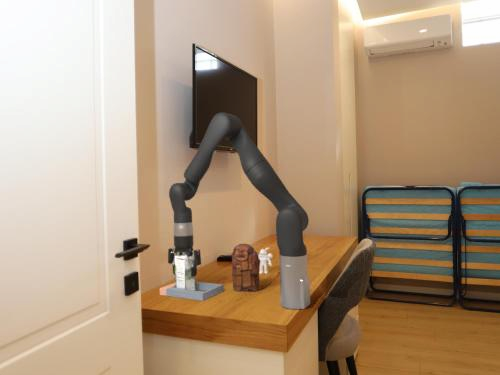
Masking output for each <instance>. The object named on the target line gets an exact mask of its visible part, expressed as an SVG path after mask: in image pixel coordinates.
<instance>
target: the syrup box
mask: <svg viewBox="0 0 500 375" xmlns="http://www.w3.org/2000/svg"><path fill="white" fill-rule="evenodd" d="M174 257H175V275H174V283H175V288H183V289H187V290H194V291H197V290H196V286H195V281H196V276H194V277H191V265H190V263H188V257H186V256H183V255H179V256H176V255H174ZM193 257H194V255H192V256H190V257H189V259H193Z"/></svg>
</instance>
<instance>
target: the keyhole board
mask: <svg viewBox="0 0 500 375" xmlns="http://www.w3.org/2000/svg"><path fill="white" fill-rule="evenodd" d="M195 286H196V291H194V290H187V289H183V288H175V282H173V283H170V284H167V285H165V286H162V287H160V288H159V295H160V296H168V297H173V298H180V299H187V300H193V301H194V300H195V301H201V302H202V301H203V302H204V301H205V300H208V299H210V298H212V297H214V296H216V295H218V294H221V293H222V292H224V284H222V283H214V282H213V283H212V282H202V281H198V280H197V281H196V280H195Z"/></svg>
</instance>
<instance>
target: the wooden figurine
mask: <svg viewBox="0 0 500 375" xmlns="http://www.w3.org/2000/svg"><path fill="white" fill-rule="evenodd" d="M258 255H259V252H257V251H256V250H255V249H254V247H253V246H252V245H250V244H249V243H239V244H237V245H236V246H234V247H233V251H232V253H231V266H232V268H231V272H232V275H231V276H232V289H233V290H234V291H236V292H258V291H259V289H260V274H259V272H260V260H259V257H258Z"/></svg>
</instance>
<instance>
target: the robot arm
mask: <svg viewBox="0 0 500 375" xmlns="http://www.w3.org/2000/svg"><path fill="white" fill-rule="evenodd" d="M223 140H227V141H228V142H229V143H230V144H231V145H232V147H233V148H234V149H235V152H236V153H237V155H238V158H239V161H240V167H241V169H242V171H243V173H244V175H245V176H246V177H247V179H248V181H250V183H251V185H252V186H253V187H254V189H256V190H257V191H258V192H259V193H260V194H262V195H263V197H265V198H266V199H268V201H269V202H271V203H272V205H273V206H274V207H275V209H276V210H277V212H278V213H277V215H276V218H275V219H276V220H275V233H276V244H277V248H278V251H279V252H278V254H279V281H280V283H279V285H280V289H279V290H280V307H281V308H285V309H289V310H299V309H301V310H305V309H306V308H307V307H308V306H310V305H311V288H310V287H311V286H310V285H311V283H310V281H311V280H310V276H309V275H308V252H307V251H308V250H307V245H305V242H304V235H303V232H304V231H305V230H307V228H308V225H309V216H308V213H307V212H306V210H305V209H304V207H303V206H301V204H300V203H299V202H298V201H297V200H296V198H294V197H293V195H292V193H290V192H289V190H288V189H287V187H286V186H285V184H284V182H283V181H282V180H281V178H280V177H279V176H278V174H277V173H276V171H275V169H274V168H273V167H272V165H271V164H270V162H269V160H267V158H266V157H265V156H264V154H263V153H262V152H261V150H260V149H259V147H258V146H257V145H256V144H255V142H254V140H252V138H251V137H250V134H249V133H248V131H247V130H246V127H245V126H244V124H243V122H242V120H240V118H239V117H238V116H237V115H235V114H231V113H227V112H223V111H222V112H218V113H216V114H214V116H213V117H212V119H211V121H210V123H209V124H208V126H207V129H206V131H205V134H204V136H203V139H202V140H201V143H200V144H199V147H198V149H197V151H196V153H195V155H194V156H193V158H192V159H191V161H190V162H189V164H188V165H187V167H186V168H185V170H184V172H183V178H184V179H185V180H184V182H176V183H175V182H174V183H173V184H172V185H171V186H170V188H169V191H168V197H169V201H170V205H171V209H172V211H173V246H174V247H170V248H168V249H167V251H168V253H167V262H168V264H171V265H172V273H173V276H175V256H179V255H183V256H186V257H188V263H190V265H191V277H194V276H195V277H196V276H197V275H198V266H200V265H201V264H202V258H201V249H199V248H198V249H194V248H193V247H194V224H193V214H192V213H193V212H192V208H191V207H189V206H187V204H186V202H188V201H190V200H192V199H193V198H194V197H195V195H196V194H197V192H198V190H199V187H200V183H201V181H202V180H203V178H204V176H205V175H206V174H207V172H208V171H209V169H210V166H211V164H212V161H213V160H212V159H213V155H214V153H215V150H216V148H217V147H218V145H219V144H220V143H221V142H222V141H223ZM192 255H194V257H193V259H189V257H190V256H192Z"/></svg>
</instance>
